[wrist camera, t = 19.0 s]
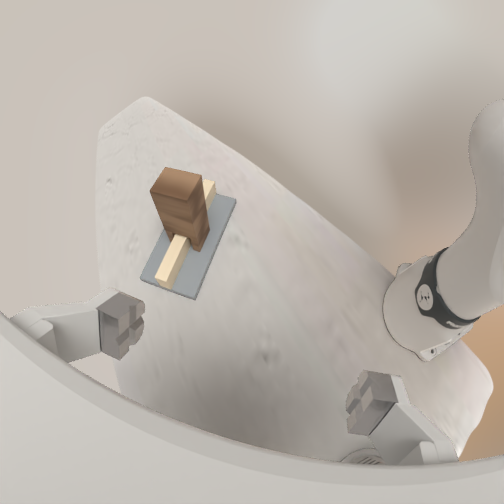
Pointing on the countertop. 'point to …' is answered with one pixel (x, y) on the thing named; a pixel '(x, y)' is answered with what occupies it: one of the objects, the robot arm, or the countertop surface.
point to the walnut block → (182, 205)
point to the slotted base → (189, 250)
